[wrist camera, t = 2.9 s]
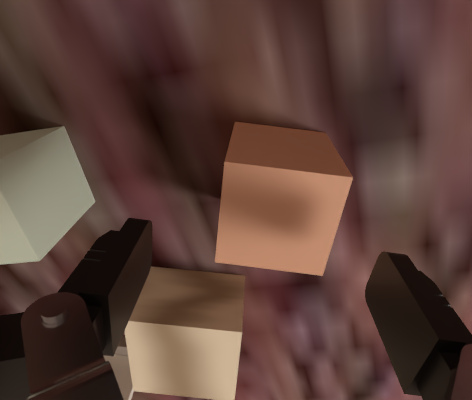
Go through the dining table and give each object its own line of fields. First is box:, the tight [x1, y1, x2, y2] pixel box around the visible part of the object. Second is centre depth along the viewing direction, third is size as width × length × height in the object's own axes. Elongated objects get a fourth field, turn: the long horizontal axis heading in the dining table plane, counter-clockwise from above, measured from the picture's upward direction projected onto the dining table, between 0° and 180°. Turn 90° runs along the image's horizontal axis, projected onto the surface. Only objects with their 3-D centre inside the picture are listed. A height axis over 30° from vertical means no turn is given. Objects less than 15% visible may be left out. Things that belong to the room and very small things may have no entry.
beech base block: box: [125, 267, 245, 400], centre depth 23 cm, size 7×7×5 cm
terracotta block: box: [215, 122, 353, 276], centre depth 16 cm, size 5×5×6 cm
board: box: [103, 336, 134, 400], centre depth 24 cm, size 9×3×9 cm, turn 84°
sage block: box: [0, 126, 95, 264], centre depth 17 cm, size 5×5×6 cm
